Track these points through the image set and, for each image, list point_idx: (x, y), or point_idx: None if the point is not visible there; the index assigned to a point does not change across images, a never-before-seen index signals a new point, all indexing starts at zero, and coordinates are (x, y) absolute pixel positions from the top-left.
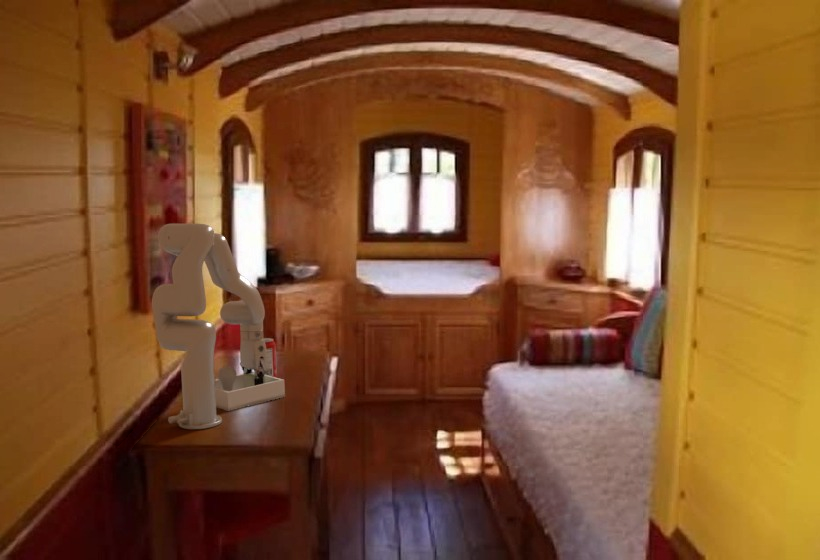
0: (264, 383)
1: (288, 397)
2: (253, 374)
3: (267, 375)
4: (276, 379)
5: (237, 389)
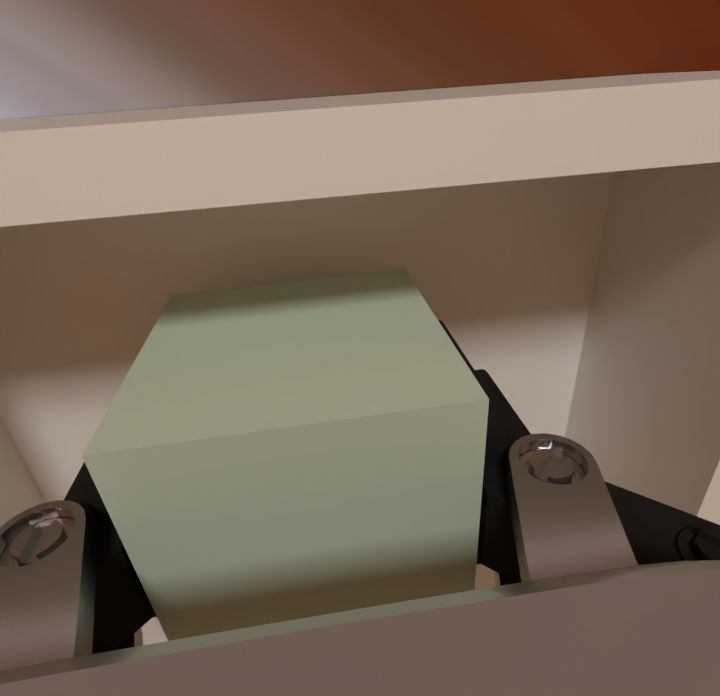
0: (715, 486)
1: (695, 41)
2: (301, 564)
3: (229, 137)
4: (696, 162)
5: (7, 442)
